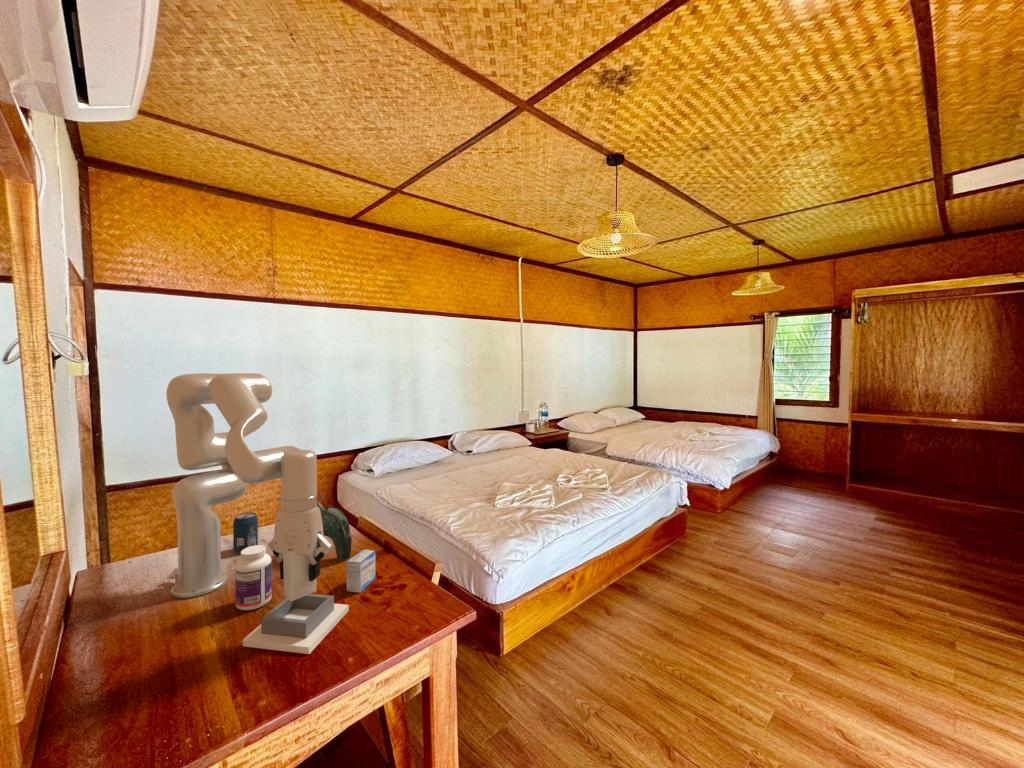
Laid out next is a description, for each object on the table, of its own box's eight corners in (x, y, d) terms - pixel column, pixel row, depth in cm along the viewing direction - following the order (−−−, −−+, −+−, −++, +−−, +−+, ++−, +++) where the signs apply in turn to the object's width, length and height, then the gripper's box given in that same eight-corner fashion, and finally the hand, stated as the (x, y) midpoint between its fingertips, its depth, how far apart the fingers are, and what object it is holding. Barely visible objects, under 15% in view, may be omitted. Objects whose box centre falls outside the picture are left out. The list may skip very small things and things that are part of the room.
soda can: (240, 546, 139) (240, 511, 138) (261, 545, 140) (261, 511, 139) (228, 555, 132) (228, 519, 131) (251, 554, 133) (251, 518, 132)
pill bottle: (259, 592, 111) (259, 540, 110) (278, 599, 107) (278, 546, 107) (228, 607, 104) (228, 552, 103) (247, 616, 100) (247, 559, 100)
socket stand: (242, 646, 89) (242, 624, 89) (291, 604, 105) (291, 586, 105) (309, 654, 87) (309, 631, 87) (348, 610, 103) (348, 591, 103)
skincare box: (309, 585, 100) (308, 537, 99) (317, 592, 97) (317, 542, 96) (282, 596, 95) (281, 545, 94) (290, 603, 92) (289, 551, 92)
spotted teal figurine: (296, 552, 135) (296, 493, 134) (312, 545, 141) (312, 488, 140) (341, 564, 127) (341, 502, 126) (356, 556, 133) (356, 496, 132)
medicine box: (360, 593, 111) (360, 562, 111) (346, 591, 112) (346, 560, 112) (375, 579, 119) (375, 550, 118) (362, 577, 120) (362, 548, 119)
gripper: (254, 506, 93) (255, 582, 93) (324, 510, 90) (324, 588, 91) (277, 496, 100) (278, 567, 101) (342, 499, 98) (342, 572, 98)
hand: (300, 576), depth 96 cm, fingers closed on skincare box, 6 cm apart
